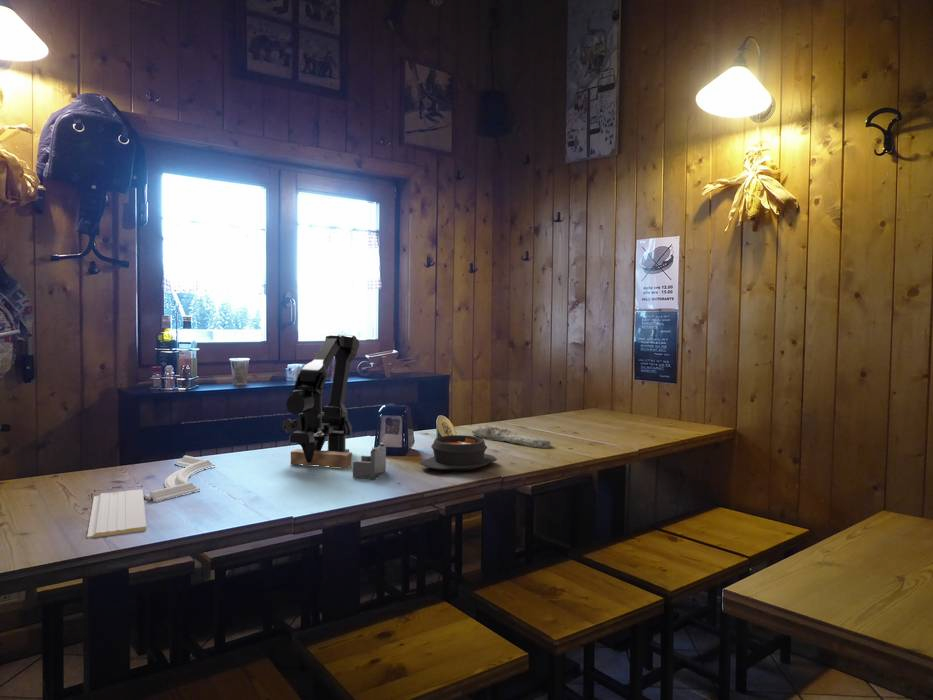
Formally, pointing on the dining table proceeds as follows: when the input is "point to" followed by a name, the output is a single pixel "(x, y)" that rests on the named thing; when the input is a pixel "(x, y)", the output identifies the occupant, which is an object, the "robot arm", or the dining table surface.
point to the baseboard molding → (117, 513)
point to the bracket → (371, 464)
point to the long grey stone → (510, 436)
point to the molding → (180, 479)
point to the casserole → (458, 453)
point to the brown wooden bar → (323, 458)
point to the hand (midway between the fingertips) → (311, 460)
